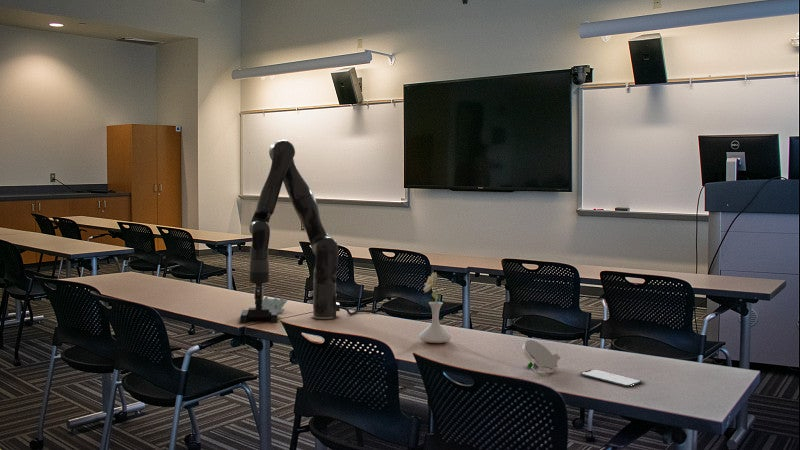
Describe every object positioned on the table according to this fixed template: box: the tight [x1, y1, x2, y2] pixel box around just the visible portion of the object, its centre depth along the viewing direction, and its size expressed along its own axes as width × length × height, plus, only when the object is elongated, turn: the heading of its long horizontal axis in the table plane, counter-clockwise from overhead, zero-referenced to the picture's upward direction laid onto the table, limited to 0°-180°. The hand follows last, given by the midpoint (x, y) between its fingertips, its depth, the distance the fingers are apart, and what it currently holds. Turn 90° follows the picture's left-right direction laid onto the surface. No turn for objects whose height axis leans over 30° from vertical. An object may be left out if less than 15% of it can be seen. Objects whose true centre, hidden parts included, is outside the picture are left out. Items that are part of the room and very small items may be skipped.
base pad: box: [239, 309, 278, 324], centre depth 285 cm, size 14×12×3 cm
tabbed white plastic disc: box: [521, 339, 562, 374], centre depth 215 cm, size 15×8×11 cm, turn 143°
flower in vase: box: [418, 271, 453, 344], centre depth 248 cm, size 13×11×25 cm
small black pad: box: [247, 307, 269, 317], centre depth 282 cm, size 8×5×3 cm, turn 99°
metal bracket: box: [262, 296, 288, 315], centre depth 306 cm, size 14×6×15 cm
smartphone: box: [579, 368, 642, 387], centre depth 205 cm, size 8×1×16 cm
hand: (258, 313), depth 282 cm, fingers closed on small black pad, 5 cm apart
